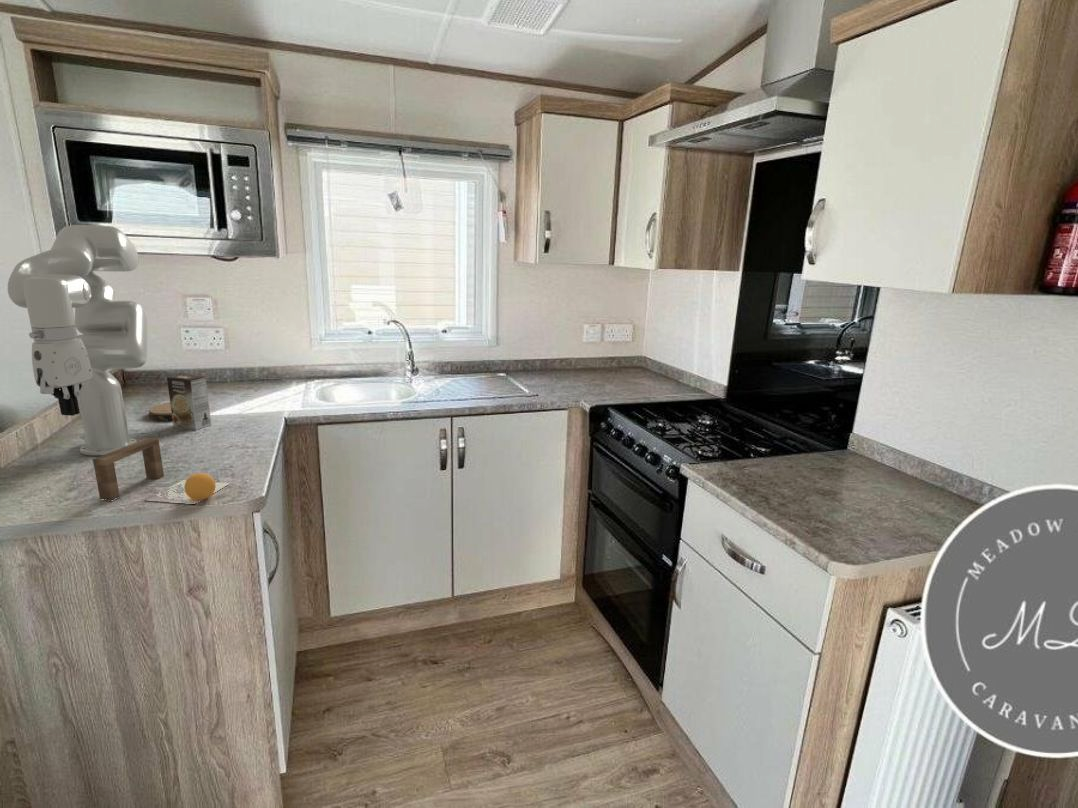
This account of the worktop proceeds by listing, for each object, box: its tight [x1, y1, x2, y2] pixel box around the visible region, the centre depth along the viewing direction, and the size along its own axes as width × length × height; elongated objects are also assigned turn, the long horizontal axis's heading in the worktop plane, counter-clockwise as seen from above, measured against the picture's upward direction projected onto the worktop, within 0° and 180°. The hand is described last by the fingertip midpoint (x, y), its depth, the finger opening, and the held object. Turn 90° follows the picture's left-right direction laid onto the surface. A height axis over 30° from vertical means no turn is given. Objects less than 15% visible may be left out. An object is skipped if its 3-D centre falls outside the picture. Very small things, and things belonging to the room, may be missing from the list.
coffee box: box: [166, 372, 212, 431], centre depth 178 cm, size 9×6×16 cm
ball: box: [184, 472, 216, 501], centre depth 128 cm, size 6×6×6 cm
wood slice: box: [148, 401, 173, 422], centre depth 191 cm, size 16×16×3 cm
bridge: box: [92, 437, 165, 500], centre depth 132 cm, size 3×15×10 cm, turn 172°
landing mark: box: [155, 479, 231, 504], centre depth 132 cm, size 12×12×1 cm
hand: (70, 414), depth 131 cm, fingers closed
